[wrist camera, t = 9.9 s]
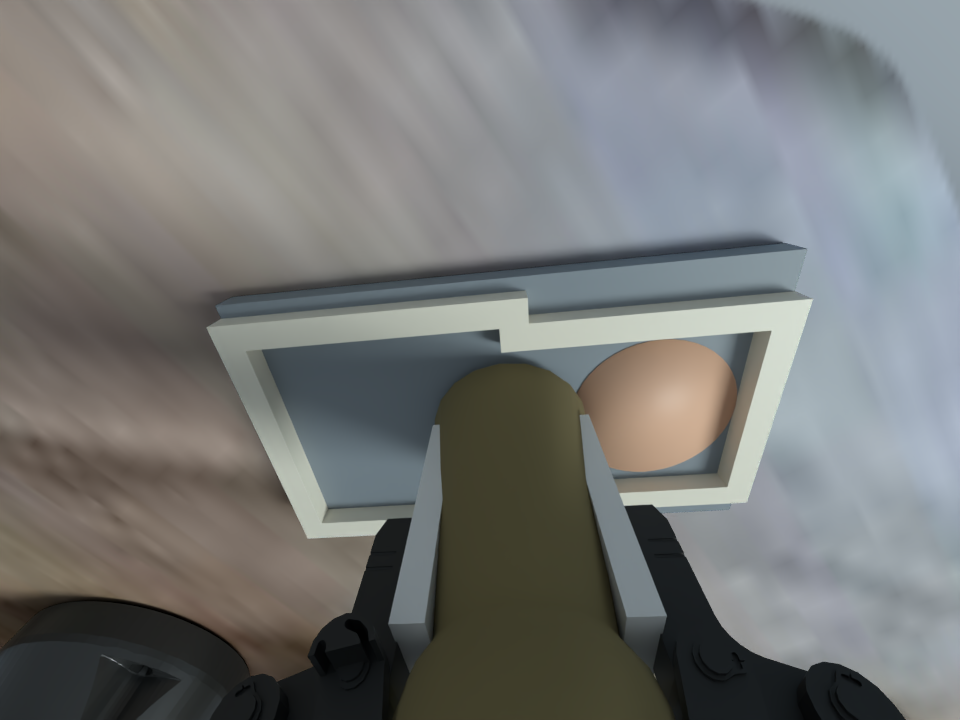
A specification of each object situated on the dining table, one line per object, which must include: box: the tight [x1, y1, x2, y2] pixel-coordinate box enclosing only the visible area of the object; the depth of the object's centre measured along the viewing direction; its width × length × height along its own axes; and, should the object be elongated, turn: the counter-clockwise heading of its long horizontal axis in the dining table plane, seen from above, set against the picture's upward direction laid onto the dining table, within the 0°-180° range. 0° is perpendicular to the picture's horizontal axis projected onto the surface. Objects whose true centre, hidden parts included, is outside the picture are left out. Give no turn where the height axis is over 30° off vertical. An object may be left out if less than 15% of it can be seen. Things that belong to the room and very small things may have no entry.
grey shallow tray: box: [206, 243, 813, 539], centre depth 15 cm, size 20×12×2 cm, turn 96°
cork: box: [392, 364, 676, 720], centre depth 10 cm, size 6×6×11 cm
